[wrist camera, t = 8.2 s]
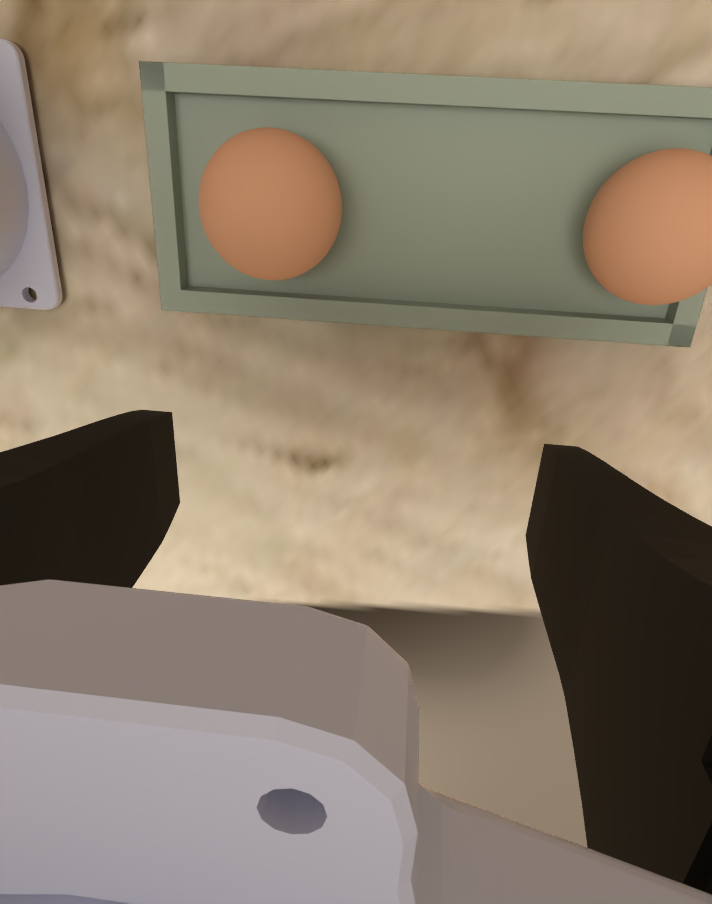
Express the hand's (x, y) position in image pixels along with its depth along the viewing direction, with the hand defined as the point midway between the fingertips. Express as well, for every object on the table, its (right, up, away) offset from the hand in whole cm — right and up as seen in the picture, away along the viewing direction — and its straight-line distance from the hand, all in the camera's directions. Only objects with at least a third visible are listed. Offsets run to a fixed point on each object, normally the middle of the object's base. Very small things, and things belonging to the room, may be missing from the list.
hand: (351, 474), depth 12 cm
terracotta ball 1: (-2, +7, +5) cm, 9 cm away
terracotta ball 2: (+8, +7, +5) cm, 12 cm away
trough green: (+2, +8, +7) cm, 11 cm away
